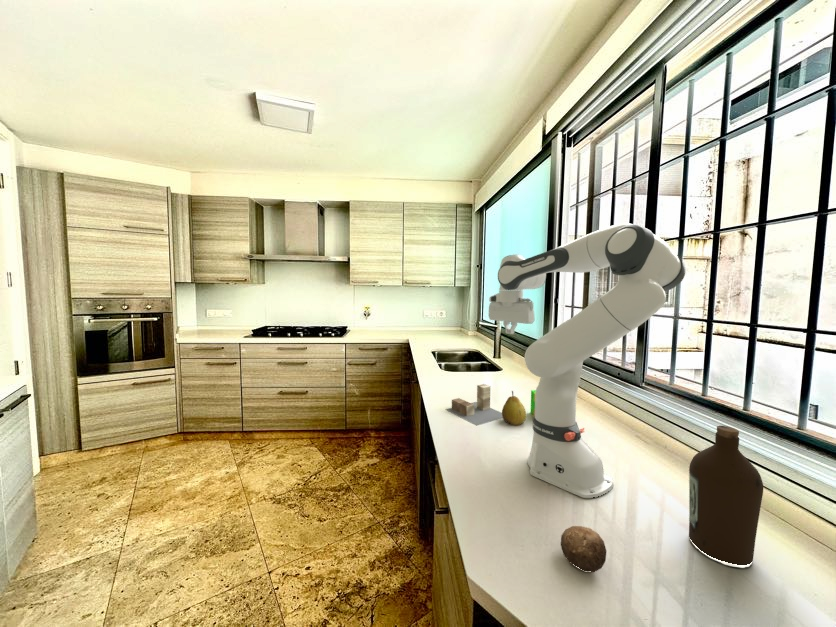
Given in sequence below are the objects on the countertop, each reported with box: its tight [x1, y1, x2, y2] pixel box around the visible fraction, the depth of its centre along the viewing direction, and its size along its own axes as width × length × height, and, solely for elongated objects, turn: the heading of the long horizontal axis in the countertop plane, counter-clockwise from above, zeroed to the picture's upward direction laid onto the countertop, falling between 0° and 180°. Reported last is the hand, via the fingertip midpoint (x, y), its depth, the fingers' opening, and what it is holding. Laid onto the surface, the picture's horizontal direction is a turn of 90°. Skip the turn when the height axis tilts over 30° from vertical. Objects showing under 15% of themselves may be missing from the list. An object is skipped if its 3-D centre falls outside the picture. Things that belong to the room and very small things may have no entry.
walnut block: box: [451, 397, 474, 416], centre depth 138 cm, size 4×4×10 cm
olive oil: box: [688, 425, 764, 565], centre depth 64 cm, size 11×11×25 cm
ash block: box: [476, 383, 491, 411], centre depth 142 cm, size 4×4×10 cm
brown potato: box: [560, 525, 607, 573], centre depth 63 cm, size 8×8×6 cm
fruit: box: [501, 390, 527, 426], centre depth 127 cm, size 9×9×12 cm
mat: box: [445, 401, 503, 426], centre depth 137 cm, size 20×18×1 cm
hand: (509, 333), depth 126 cm, fingers closed
